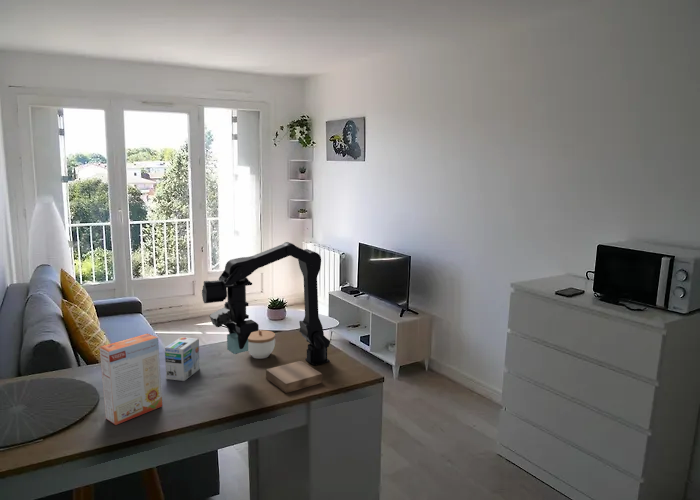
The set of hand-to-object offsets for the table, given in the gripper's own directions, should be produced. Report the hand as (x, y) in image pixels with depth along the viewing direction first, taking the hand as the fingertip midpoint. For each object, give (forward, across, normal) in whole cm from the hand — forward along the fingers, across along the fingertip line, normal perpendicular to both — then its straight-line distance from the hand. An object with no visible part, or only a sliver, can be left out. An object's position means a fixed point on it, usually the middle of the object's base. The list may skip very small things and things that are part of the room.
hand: (237, 346), depth 166 cm
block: (+1, 0, 0) cm, 1 cm away
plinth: (+10, +13, +13) cm, 21 cm away
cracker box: (+10, +6, -34) cm, 36 cm away
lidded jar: (+10, -12, +14) cm, 21 cm away
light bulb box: (+10, -12, -14) cm, 21 cm away
